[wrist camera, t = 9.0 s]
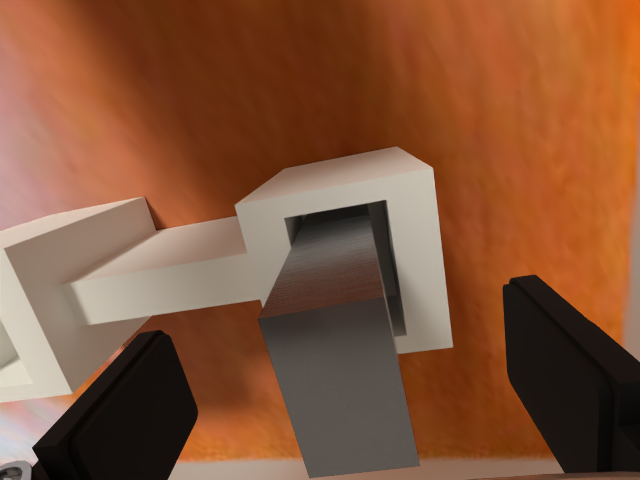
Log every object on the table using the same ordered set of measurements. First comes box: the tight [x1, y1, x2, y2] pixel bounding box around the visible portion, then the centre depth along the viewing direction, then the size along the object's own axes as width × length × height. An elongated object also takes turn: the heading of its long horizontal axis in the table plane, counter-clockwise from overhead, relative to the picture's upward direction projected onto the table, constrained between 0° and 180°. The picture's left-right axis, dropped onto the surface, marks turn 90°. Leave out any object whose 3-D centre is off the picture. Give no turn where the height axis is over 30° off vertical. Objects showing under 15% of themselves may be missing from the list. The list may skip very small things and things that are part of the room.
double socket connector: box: [0, 146, 453, 403], centre depth 23 cm, size 8×27×12 cm, turn 101°
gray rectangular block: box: [258, 203, 420, 478], centre depth 14 cm, size 5×3×11 cm, turn 13°
